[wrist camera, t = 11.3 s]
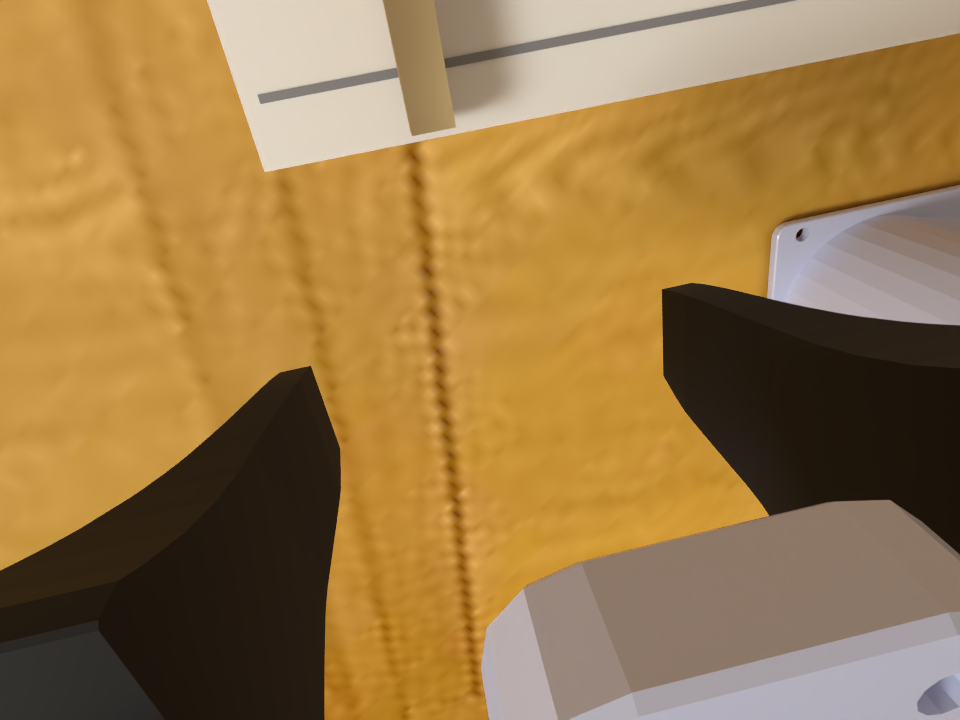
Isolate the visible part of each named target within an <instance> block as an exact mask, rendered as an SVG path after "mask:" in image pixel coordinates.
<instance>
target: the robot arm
mask: <svg viewBox="0 0 960 720" xmlns="http://www.w3.org/2000/svg"><path fill="white" fill-rule="evenodd" d="M800 229H803V231H802V234H801V235H800V236H799V237H798V238H796V234H797V232H798V231H799V230H800ZM662 315H663V372H664V377H665V379H666V381H667V382H668V384H669V386H670V388H671V389H672V391H673V393H674V395H675V396H676V398H677V399H678V401H679V403H680V404H681V406H682V407H683V409H684V411H685V412H686V413H687V414H688V416H689V417H690V418H691V419H692V421H693V422H694V423H695V424H696V425H697V427H698V428H699V429H700V430H701V431H702V433H703V434H704V435H705V436H706V437H707V439H708V440H709V441H710V442H711V443H712V445H713V446H714V447H715V448H716V449H717V450H718V452H719V453H720V454H721V455H722V456H723V457H724V459H725V460H726V461H727V462H728V463H729V465H730V466H731V467H732V468H733V469H734V470H735V472H736V473H737V474H738V475H739V476H740V477H741V479H742V480H743V481H744V482H745V483H746V485H747V486H748V487H749V488H750V490H751V491H752V492H753V493H754V495H755V496H756V497H757V499H758V500H759V501H760V502H761V504H762V505H763V507H764V508H765V510H766V511H767V513H768V514H769V516H768V517H764V518H760V519H755V520H751V521H747V522H743V523H739V524H735V525H730V526H726V527H722V528H718V529H714V530H710V531H705V532H701V533H697V534H693V535H689V536H685V537H681V538H676V539H672V540H668V541H664V542H660V543H656V544H651V545H647V546H643V547H639V548H635V549H631V550H627V551H622V552H618V553H614V554H610V555H606V556H602V557H597V558H593V559H589V560H585V561H581V562H577V563H575V564H573V565H571V566H568V567H566V568H564V569H562V570H559V571H557V572H555V573H553V574H550V575H548V576H546V577H544V578H541V579H539V580H537V581H535V582H532V583H530V584H528V585H527V586H526V587H524V588H523V589H522V590H521V591H520V593H519V594H518V595H517V596H516V597H515V598H514V599H513V600H512V601H511V602H510V603H509V604H508V606H507V607H506V608H505V609H504V610H503V611H502V612H501V613H500V614H499V615H498V616H497V617H496V619H495V620H494V621H493V622H492V623H491V624H490V625H489V626H488V627H487V629H486V636H485V643H484V650H483V657H482V664H481V671H482V678H483V684H484V690H485V696H486V702H487V709H488V715H489V720H960V185H957V186H952V187H947V188H943V189H938V190H933V191H929V192H924V193H919V194H915V195H910V196H905V197H901V198H896V199H891V200H887V201H882V202H877V203H873V204H868V205H863V206H859V207H854V208H849V209H845V210H840V211H835V212H831V213H826V214H821V215H817V216H812V217H807V218H803V219H798V220H793V221H789V222H785V223H782V224H780V225H779V226H778V227H777V228H776V229H775V230H774V232H773V235H772V241H771V254H770V267H769V280H768V293H767V298H764V297H760V296H756V295H751V294H747V293H743V292H739V291H734V290H730V289H726V288H721V287H716V286H711V285H705V284H696V283H689V284H685V285H680V286H676V287H671V288H666V289H662ZM340 491H341V466H340V447H339V444H338V441H337V439H336V436H335V433H334V430H333V427H332V425H331V422H330V419H329V416H328V413H327V410H326V408H325V405H324V402H323V399H322V396H321V393H320V391H319V388H318V385H317V382H316V379H315V377H314V374H313V371H312V368H311V366H308V367H304V368H299V369H294V370H290V371H285V372H281V373H279V374H278V375H276V376H275V377H273V378H272V379H271V380H270V381H269V382H268V383H267V384H265V385H264V386H263V387H262V388H261V389H260V390H259V391H258V392H257V393H256V394H255V395H254V396H253V397H252V398H251V399H250V400H249V401H248V402H247V403H245V404H244V405H243V406H242V407H241V408H240V409H239V410H238V411H237V412H236V413H235V414H234V415H233V416H232V417H231V418H230V419H229V420H228V421H227V422H226V423H224V424H223V425H222V426H221V427H220V428H219V429H218V430H217V431H215V432H214V433H213V434H212V435H211V436H210V437H209V438H207V439H206V440H205V441H204V442H203V443H202V444H201V445H199V446H198V447H197V448H196V449H195V450H194V451H192V452H191V453H190V454H189V455H188V456H187V457H185V458H184V459H183V460H182V461H180V462H179V463H178V464H177V465H175V466H174V467H173V468H171V469H170V470H169V471H167V472H166V473H165V474H163V475H162V476H161V477H159V478H158V479H156V480H155V481H154V482H152V483H151V484H150V485H148V486H147V487H145V488H144V489H143V490H141V491H140V492H138V493H137V494H135V495H134V496H132V497H131V498H129V499H127V500H126V501H124V502H123V503H121V504H119V505H118V506H116V507H115V508H113V509H111V510H110V511H108V512H106V513H105V514H103V515H102V516H100V517H98V518H97V519H95V520H94V521H92V522H90V523H89V524H87V525H86V526H84V527H82V528H81V529H79V530H77V531H75V532H74V533H72V534H70V535H68V536H66V537H64V538H63V539H61V540H59V541H57V542H55V543H54V544H52V545H50V546H48V547H46V548H44V549H42V550H40V551H38V552H36V553H35V554H33V555H31V556H29V557H27V558H25V559H23V560H21V561H19V562H17V563H15V564H13V565H11V566H9V567H7V568H5V569H3V570H1V571H0V720H324V654H325V612H326V599H327V588H328V580H329V573H330V566H331V559H332V551H333V544H334V537H335V530H336V523H337V515H338V508H339V500H340Z"/></svg>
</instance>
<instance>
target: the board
mask: <svg viewBox="0 0 960 720" xmlns="http://www.w3.org/2000/svg"><path fill="white" fill-rule="evenodd" d="M207 2H208V5H209V8H210V11H211V14H212V17H213V20H214V23H215V26H216V29H217V31H218V34H219V37H220V40H221V43H222V46H223V49H224V52H225V55H226V58H227V61H228V64H229V67H230V70H231V73H232V76H233V79H234V82H235V85H236V88H237V91H238V94H239V97H240V100H241V103H242V106H243V109H244V112H245V115H246V118H247V121H248V124H249V127H250V130H251V133H252V136H253V139H254V142H255V145H256V148H257V151H258V154H259V157H260V160H261V162H262V165H263V168H264V171H265V172H268V171H273V170H278V169H283V168H288V167H293V166H298V165H303V164H308V163H313V162H318V161H323V160H328V159H333V158H338V157H343V156H348V155H353V154H358V153H363V152H368V151H373V150H378V149H383V148H388V147H393V146H398V145H403V144H408V143H413V142H418V141H423V140H428V139H433V138H438V137H443V136H448V135H453V134H458V133H463V132H468V131H473V130H478V129H483V128H488V127H493V126H498V125H503V124H508V123H513V122H518V121H523V120H528V119H533V118H538V117H543V116H548V115H553V114H558V113H563V112H568V111H573V110H578V109H583V108H588V107H593V106H598V105H603V104H608V103H613V102H618V101H623V100H628V99H633V98H638V97H643V96H648V95H653V94H658V93H663V92H668V91H673V90H678V89H683V88H688V87H693V86H698V85H703V84H708V83H713V82H718V81H723V80H728V79H733V78H738V77H743V76H748V75H753V74H758V73H763V72H768V71H773V70H778V69H783V68H788V67H793V66H798V65H803V64H808V63H813V62H818V61H823V60H829V59H834V58H839V57H844V56H849V55H854V54H859V53H864V52H869V51H874V50H879V49H884V48H889V47H894V46H899V45H904V44H909V43H914V42H919V41H924V40H929V39H934V38H939V37H944V36H949V35H954V34H959V33H960V0H434V5H435V11H436V17H437V22H438V28H439V34H440V39H441V45H442V51H443V56H444V62H445V68H446V73H447V79H448V85H449V90H450V96H451V102H452V107H453V113H454V119H455V124H456V127H455V128H450V129H445V130H440V131H435V132H431V133H426V134H421V135H416V136H412V134H411V132H410V128H409V123H408V118H407V114H406V109H405V104H404V99H403V95H402V90H401V85H400V81H399V76H398V71H397V67H396V62H395V57H394V52H393V48H392V43H391V38H390V34H389V29H388V24H387V19H386V15H385V10H384V5H383V1H382V0H207Z"/></svg>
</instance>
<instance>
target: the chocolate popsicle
mask: <svg viewBox="0 0 960 720" xmlns="http://www.w3.org/2000/svg"><path fill="white" fill-rule="evenodd" d="M382 1H383V5H384V10H385V15H386V19H387V24H388V29H389V34H390V38H391V43H392V48H393V52H394V57H395V62H396V67H397V71H398V76H399V81H400V85H401V90H402V95H403V99H404V104H405V109H406V114H407V118H408V123H409V128H410V132H411V134H412V136H416V135H421V134H426V133H431V132H435V131H440V130H445V129H450V128H455V127H456V124H455V119H454V113H453V107H452V102H451V96H450V90H449V85H448V79H447V73H446V68H445V62H444V56H443V51H442V45H441V39H440V34H439V28H438V22H437V17H436V11H435V5H434V0H382Z"/></svg>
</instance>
